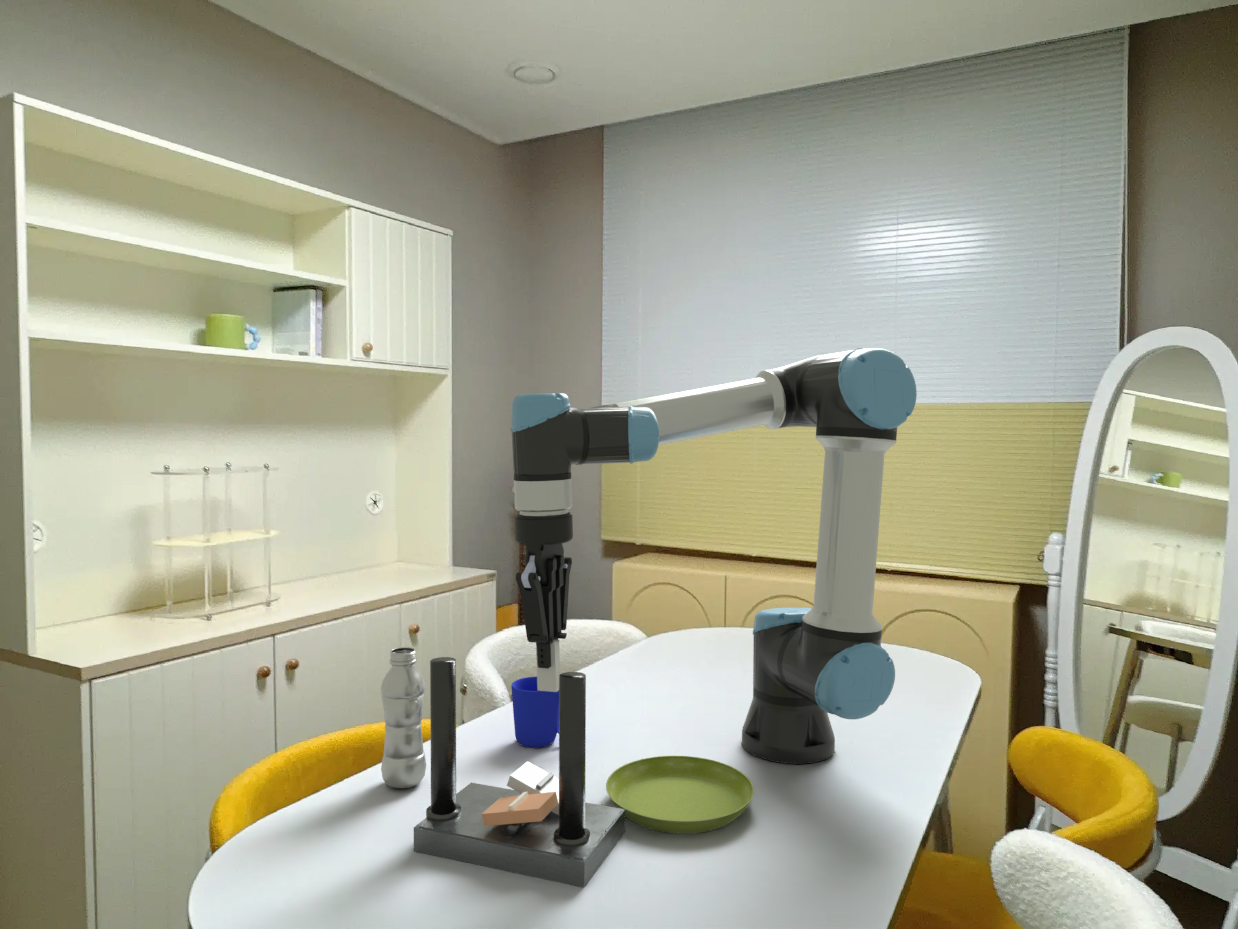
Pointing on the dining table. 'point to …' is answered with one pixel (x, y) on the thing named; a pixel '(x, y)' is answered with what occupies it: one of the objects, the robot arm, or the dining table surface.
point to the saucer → (680, 793)
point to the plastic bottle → (403, 721)
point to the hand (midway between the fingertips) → (549, 689)
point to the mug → (534, 713)
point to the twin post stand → (530, 848)
